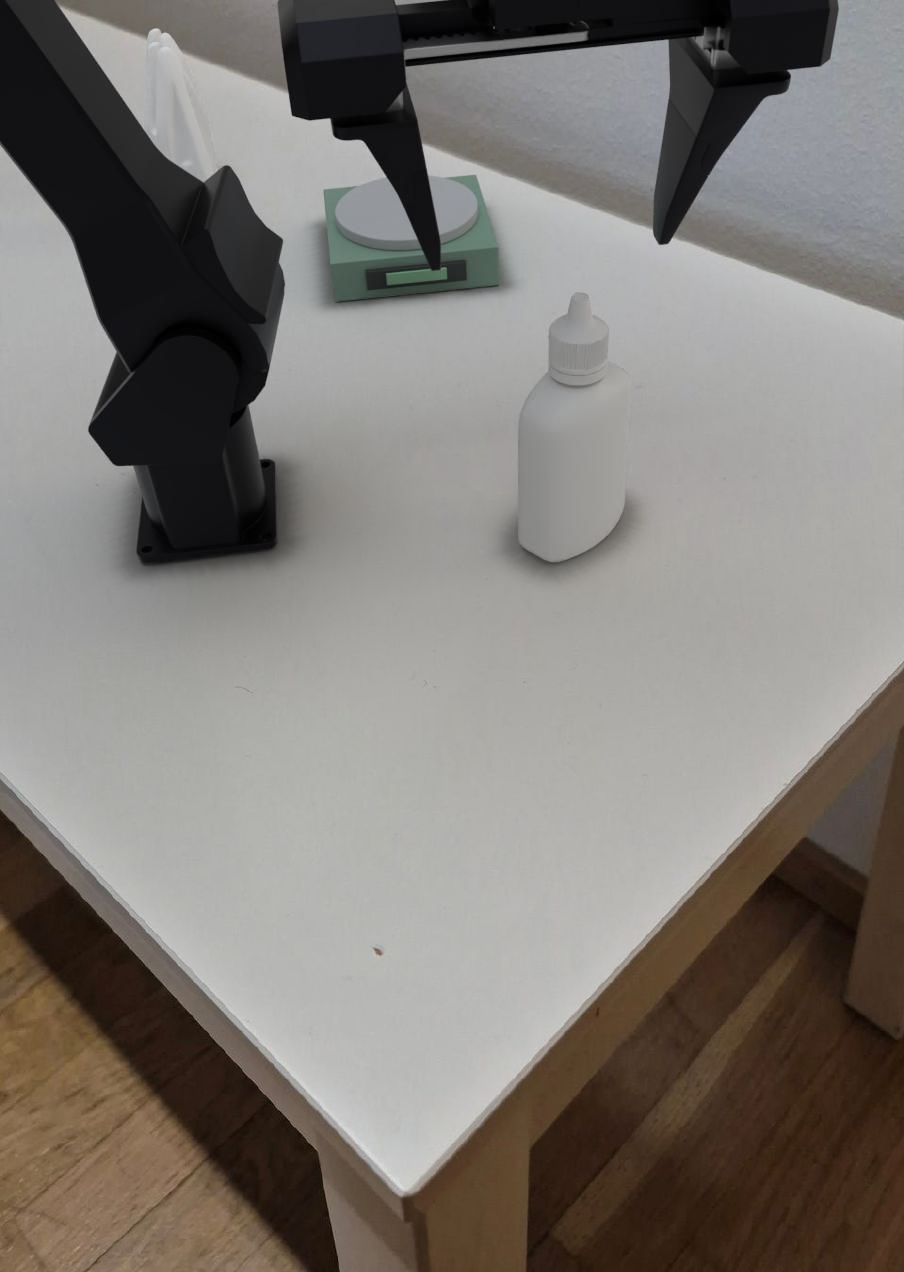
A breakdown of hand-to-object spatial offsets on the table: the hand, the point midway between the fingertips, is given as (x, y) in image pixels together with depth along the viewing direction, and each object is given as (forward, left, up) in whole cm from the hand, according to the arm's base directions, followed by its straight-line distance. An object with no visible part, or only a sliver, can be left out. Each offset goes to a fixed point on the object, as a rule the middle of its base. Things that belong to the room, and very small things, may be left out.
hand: (548, 253), depth 47 cm
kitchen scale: (+26, +4, -13) cm, 29 cm away
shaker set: (+36, +18, -13) cm, 42 cm away
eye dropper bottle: (-2, -1, -13) cm, 13 cm away
